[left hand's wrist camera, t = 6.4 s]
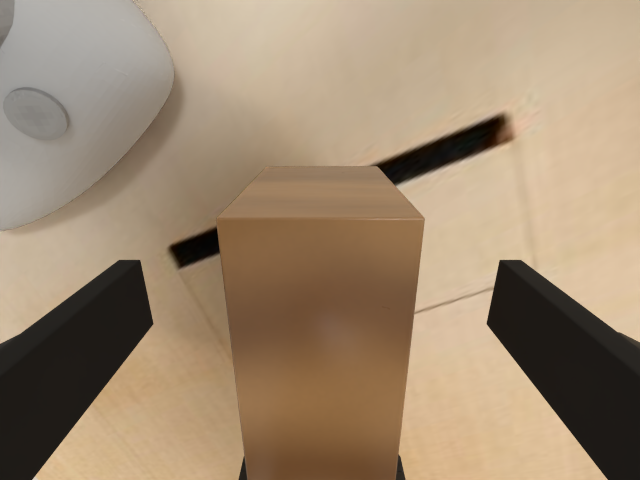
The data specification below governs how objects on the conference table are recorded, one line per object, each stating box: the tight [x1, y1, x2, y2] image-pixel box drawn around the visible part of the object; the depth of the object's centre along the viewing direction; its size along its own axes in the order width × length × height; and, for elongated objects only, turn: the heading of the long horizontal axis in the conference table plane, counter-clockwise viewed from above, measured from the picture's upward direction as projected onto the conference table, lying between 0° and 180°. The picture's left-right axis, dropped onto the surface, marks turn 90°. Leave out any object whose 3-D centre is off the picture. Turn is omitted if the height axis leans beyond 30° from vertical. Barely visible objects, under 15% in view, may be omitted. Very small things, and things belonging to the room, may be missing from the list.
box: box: [216, 166, 425, 480], centre depth 20 cm, size 23×7×11 cm, turn 0°
